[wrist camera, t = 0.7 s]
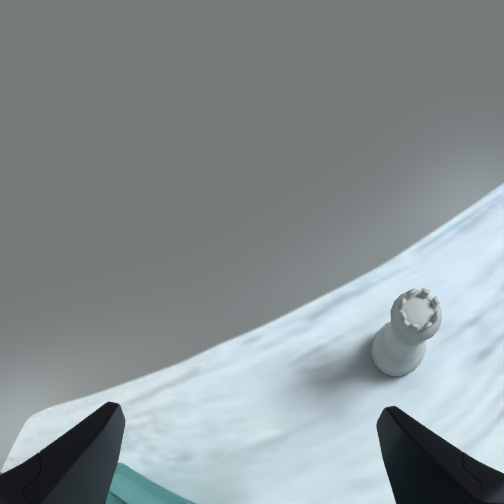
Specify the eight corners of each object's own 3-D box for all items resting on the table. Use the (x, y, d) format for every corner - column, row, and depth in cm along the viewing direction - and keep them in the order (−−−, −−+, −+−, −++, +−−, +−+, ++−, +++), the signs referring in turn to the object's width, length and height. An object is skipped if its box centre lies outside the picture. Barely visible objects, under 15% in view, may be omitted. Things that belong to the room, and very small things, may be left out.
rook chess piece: (359, 358, 20) (366, 319, 14) (390, 315, 21) (405, 261, 15) (403, 388, 17) (433, 362, 11) (432, 342, 19) (466, 296, 12)
